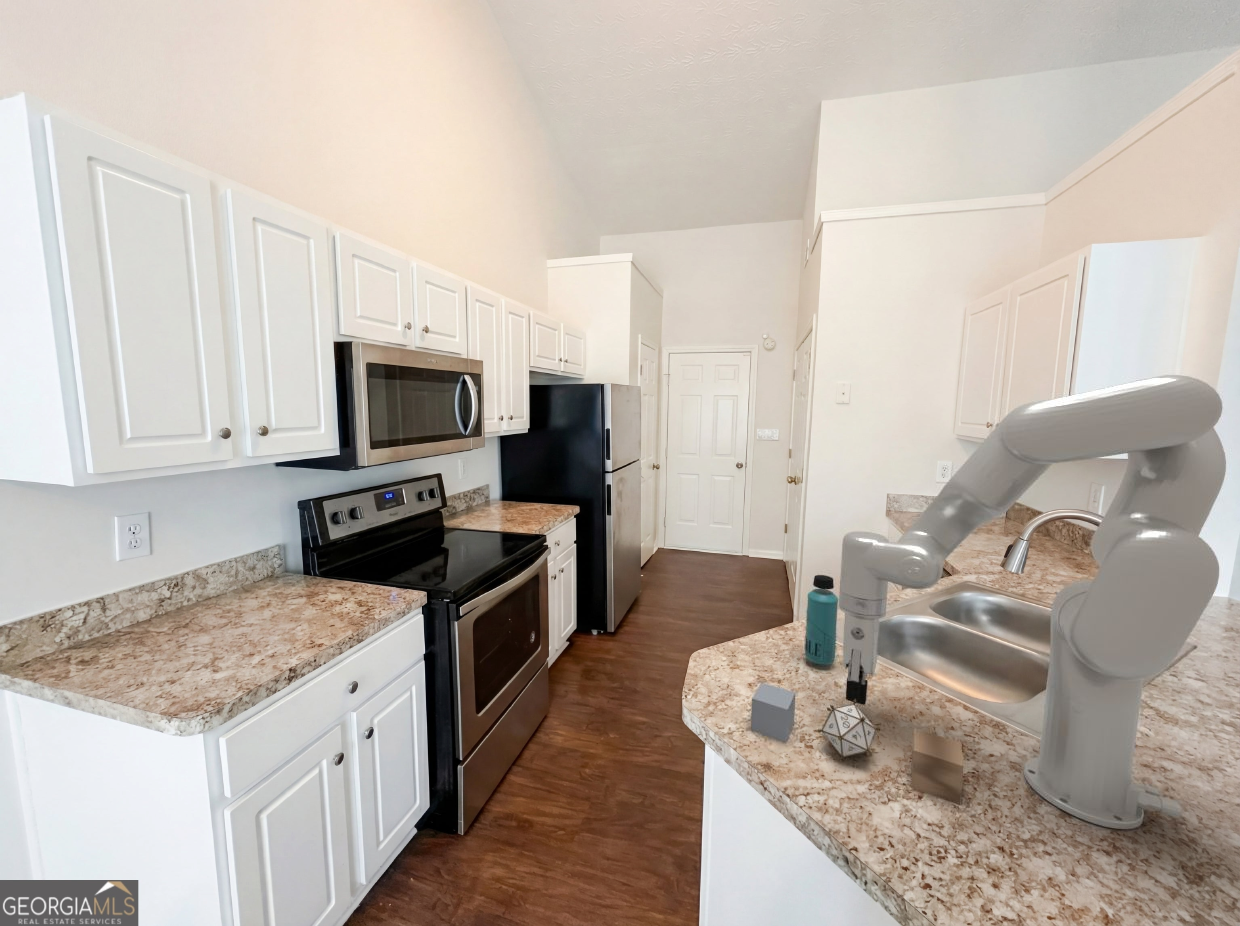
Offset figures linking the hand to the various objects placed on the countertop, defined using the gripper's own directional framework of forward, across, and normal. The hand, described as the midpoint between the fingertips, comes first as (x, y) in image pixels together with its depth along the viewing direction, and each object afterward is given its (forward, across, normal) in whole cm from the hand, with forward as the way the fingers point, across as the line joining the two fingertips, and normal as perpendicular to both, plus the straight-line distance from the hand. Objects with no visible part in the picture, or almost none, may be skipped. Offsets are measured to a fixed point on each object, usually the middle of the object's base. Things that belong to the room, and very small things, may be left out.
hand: (855, 700), depth 87 cm
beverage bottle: (+4, +17, +9) cm, 20 cm away
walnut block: (+4, -10, -12) cm, 16 cm away
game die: (+4, -10, 0) cm, 11 cm away
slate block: (+4, -11, +12) cm, 16 cm away
